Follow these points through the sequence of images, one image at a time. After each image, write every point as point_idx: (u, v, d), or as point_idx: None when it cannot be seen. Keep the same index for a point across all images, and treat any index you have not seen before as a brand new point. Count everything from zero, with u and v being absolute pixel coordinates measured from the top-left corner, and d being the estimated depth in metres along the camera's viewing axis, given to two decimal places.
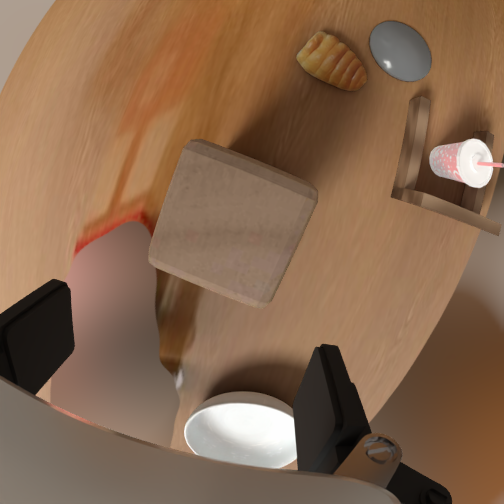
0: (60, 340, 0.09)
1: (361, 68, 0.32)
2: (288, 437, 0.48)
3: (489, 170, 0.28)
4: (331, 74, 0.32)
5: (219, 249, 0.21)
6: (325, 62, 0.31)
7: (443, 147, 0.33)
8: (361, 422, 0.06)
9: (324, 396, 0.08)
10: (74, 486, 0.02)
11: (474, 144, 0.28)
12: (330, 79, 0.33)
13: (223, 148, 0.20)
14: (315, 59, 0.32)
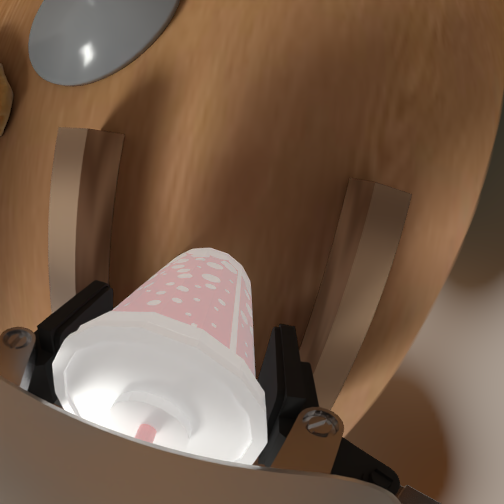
0: None
1: None
2: None
3: (243, 443, 0.07)
4: None
5: None
6: None
7: None
8: (302, 394, 0.07)
9: (273, 370, 0.08)
10: (74, 486, 0.02)
11: (116, 349, 0.06)
12: None
13: None
14: None
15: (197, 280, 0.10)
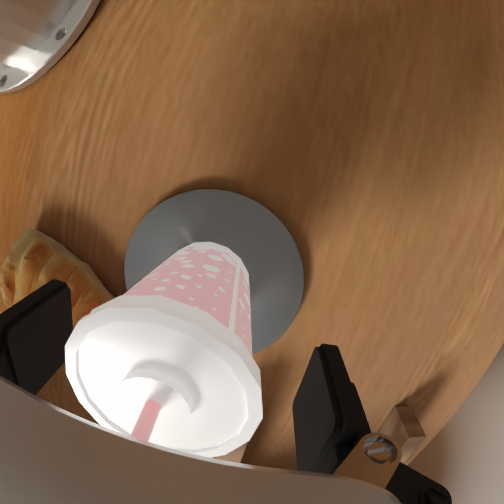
0: (60, 340, 0.09)
1: None
2: None
3: (241, 419, 0.08)
4: None
5: None
6: None
7: None
8: (360, 421, 0.06)
9: (324, 396, 0.08)
10: (74, 486, 0.02)
11: (126, 329, 0.07)
12: None
13: None
14: None
15: (199, 270, 0.11)
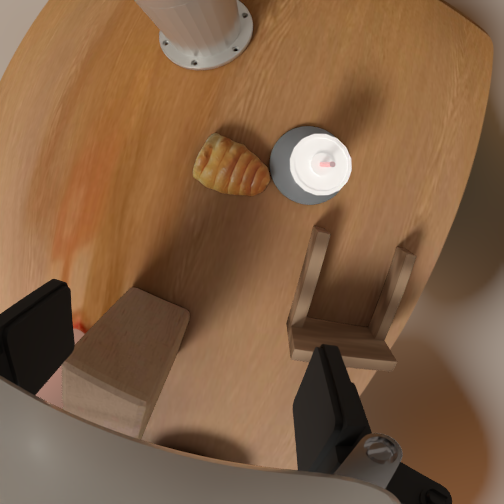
0: (60, 340, 0.09)
1: (260, 169, 0.36)
2: None
3: (345, 171, 0.28)
4: (228, 188, 0.36)
5: (97, 418, 0.26)
6: (218, 178, 0.35)
7: None
8: (361, 422, 0.06)
9: (324, 396, 0.08)
10: (74, 486, 0.02)
11: (317, 140, 0.27)
12: (229, 192, 0.37)
13: (84, 366, 0.24)
14: (208, 176, 0.35)
15: None
